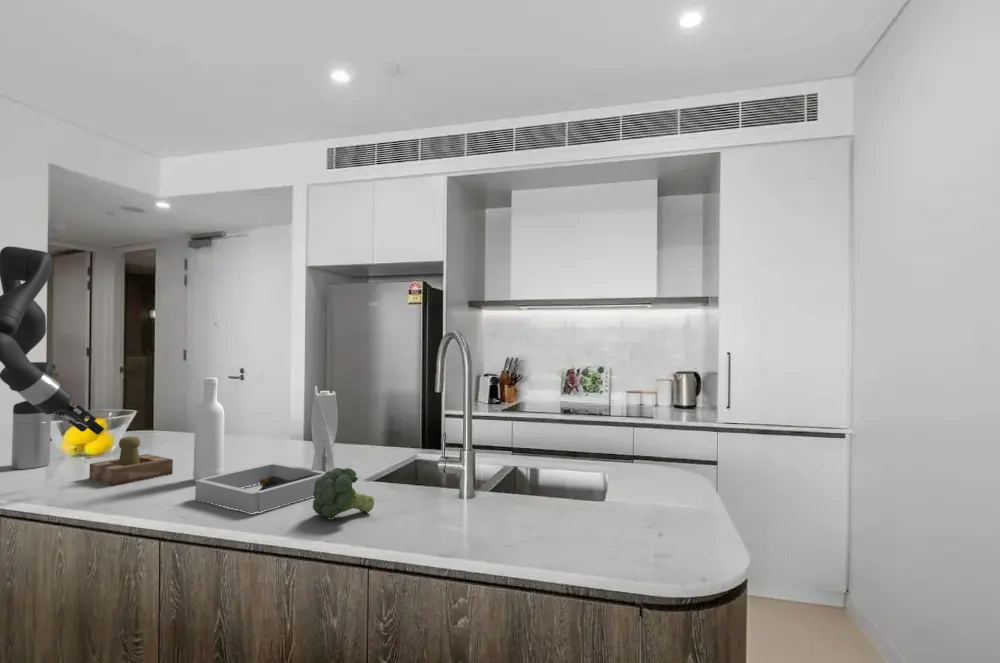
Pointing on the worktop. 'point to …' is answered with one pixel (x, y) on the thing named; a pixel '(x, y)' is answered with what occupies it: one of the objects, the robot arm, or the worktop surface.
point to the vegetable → (339, 494)
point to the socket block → (130, 470)
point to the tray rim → (231, 494)
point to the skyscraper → (324, 429)
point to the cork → (129, 451)
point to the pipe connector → (277, 481)
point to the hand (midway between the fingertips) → (93, 430)
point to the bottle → (209, 434)
